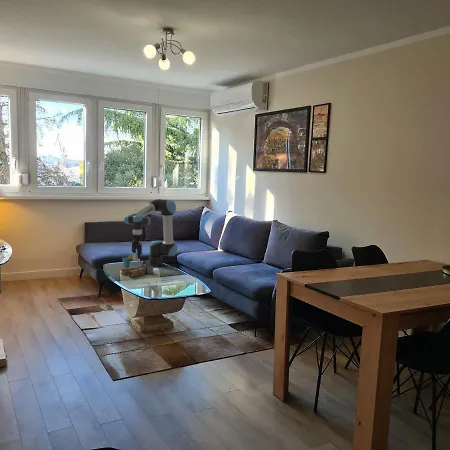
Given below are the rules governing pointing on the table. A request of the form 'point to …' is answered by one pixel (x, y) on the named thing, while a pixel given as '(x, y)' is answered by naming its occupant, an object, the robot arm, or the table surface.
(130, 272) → the hinged jaw
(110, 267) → the table surface
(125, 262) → the cup
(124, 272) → the base
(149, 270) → the collar
